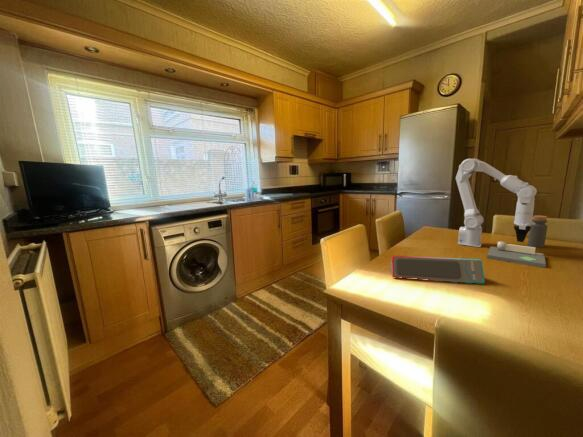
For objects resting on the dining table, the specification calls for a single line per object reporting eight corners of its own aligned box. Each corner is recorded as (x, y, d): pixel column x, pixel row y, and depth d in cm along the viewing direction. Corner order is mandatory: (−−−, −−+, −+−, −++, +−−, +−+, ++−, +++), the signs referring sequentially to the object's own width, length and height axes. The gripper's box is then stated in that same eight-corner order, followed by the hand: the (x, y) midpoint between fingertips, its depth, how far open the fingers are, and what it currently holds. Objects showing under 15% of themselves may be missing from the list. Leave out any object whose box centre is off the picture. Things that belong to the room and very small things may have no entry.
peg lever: (496, 249, 112) (497, 242, 111) (497, 247, 114) (497, 240, 113) (542, 256, 102) (543, 248, 101) (541, 254, 104) (542, 246, 103)
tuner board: (486, 258, 107) (487, 254, 107) (490, 249, 118) (490, 246, 117) (545, 267, 95) (545, 263, 94) (543, 256, 105) (543, 253, 105)
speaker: (479, 254, 88) (391, 250, 96) (489, 275, 81) (394, 270, 89) (471, 268, 94) (389, 264, 101) (480, 290, 87) (391, 283, 95)
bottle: (547, 247, 116) (552, 217, 113) (535, 247, 117) (540, 217, 114) (535, 243, 122) (540, 214, 119) (524, 244, 122) (528, 215, 119)
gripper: (537, 215, 101) (532, 247, 103) (536, 210, 111) (532, 239, 113) (514, 214, 105) (510, 244, 108) (515, 209, 116) (511, 236, 118)
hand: (520, 241), depth 111 cm, fingers closed
